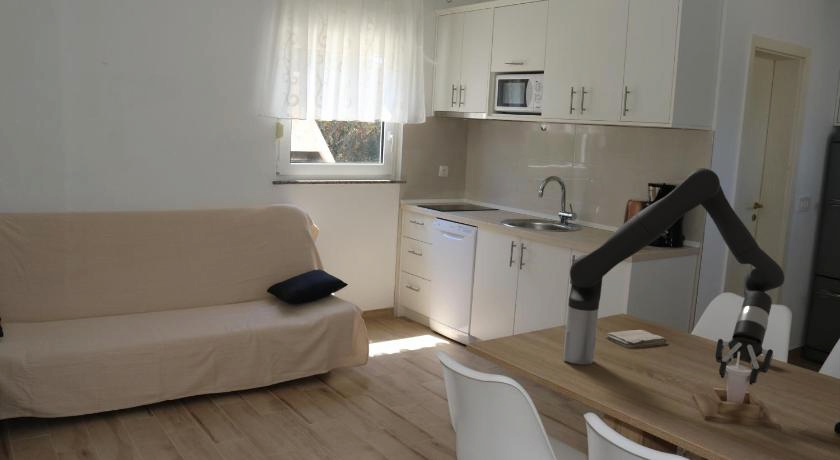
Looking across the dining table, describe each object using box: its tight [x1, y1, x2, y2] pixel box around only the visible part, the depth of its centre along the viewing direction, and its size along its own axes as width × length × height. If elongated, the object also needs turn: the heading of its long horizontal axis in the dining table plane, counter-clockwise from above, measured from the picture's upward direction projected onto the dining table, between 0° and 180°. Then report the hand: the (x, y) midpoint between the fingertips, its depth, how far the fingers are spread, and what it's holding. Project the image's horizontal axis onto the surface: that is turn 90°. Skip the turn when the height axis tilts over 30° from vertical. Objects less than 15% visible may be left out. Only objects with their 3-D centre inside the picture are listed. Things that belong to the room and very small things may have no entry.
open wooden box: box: [691, 387, 781, 430], centre depth 192 cm, size 18×16×4 cm
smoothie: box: [726, 352, 753, 404], centre depth 191 cm, size 6×6×14 cm
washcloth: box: [605, 329, 668, 349], centre depth 251 cm, size 12×18×3 cm, turn 118°
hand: (736, 379), depth 189 cm, fingers closed on smoothie, 6 cm apart
